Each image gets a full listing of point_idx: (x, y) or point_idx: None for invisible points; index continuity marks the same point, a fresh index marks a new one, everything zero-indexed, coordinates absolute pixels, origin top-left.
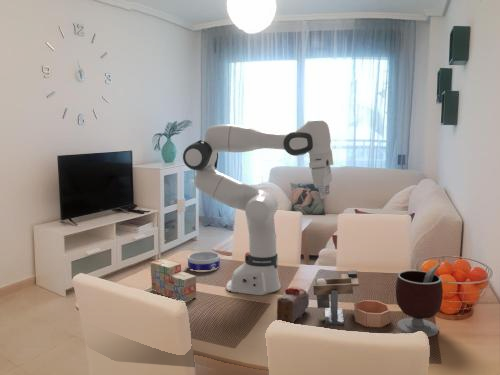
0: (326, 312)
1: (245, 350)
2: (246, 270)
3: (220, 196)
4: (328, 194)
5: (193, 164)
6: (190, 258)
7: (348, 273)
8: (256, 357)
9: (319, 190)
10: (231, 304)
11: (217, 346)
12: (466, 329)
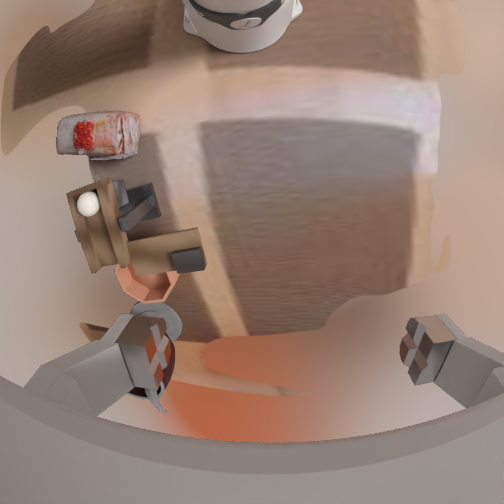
0: (131, 192)
1: (12, 125)
2: None
3: None
4: (400, 349)
5: None
6: None
7: (176, 253)
8: (7, 146)
9: (49, 372)
10: (124, 7)
11: (11, 90)
12: (181, 364)
